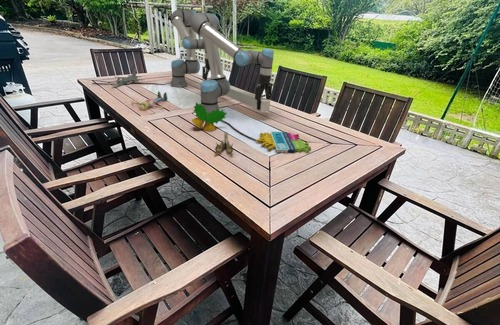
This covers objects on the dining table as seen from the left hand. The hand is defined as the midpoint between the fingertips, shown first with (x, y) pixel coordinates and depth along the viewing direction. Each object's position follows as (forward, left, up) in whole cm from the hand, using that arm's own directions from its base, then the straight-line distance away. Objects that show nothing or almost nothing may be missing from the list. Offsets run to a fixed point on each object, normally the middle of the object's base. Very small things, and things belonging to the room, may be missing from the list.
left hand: (209, 86), depth 227 cm
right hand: (+56, -41, 0) cm, 69 cm away
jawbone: (+48, -98, -8) cm, 109 cm away
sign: (+75, -75, -8) cm, 107 cm away
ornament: (+29, -71, -8) cm, 77 cm away
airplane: (-86, +4, -8) cm, 86 cm away
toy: (-28, -45, -8) cm, 53 cm away
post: (+28, -20, -1) cm, 35 cm away
